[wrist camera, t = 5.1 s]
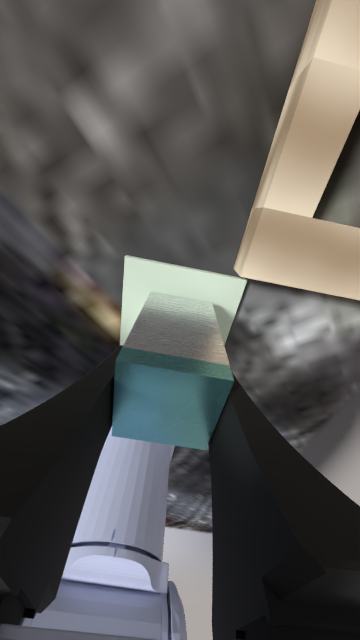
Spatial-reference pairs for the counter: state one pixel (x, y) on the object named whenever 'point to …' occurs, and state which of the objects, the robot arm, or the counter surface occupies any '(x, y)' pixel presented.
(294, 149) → the holder
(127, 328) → the plate
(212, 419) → the block
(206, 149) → the counter surface
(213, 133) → the counter surface
